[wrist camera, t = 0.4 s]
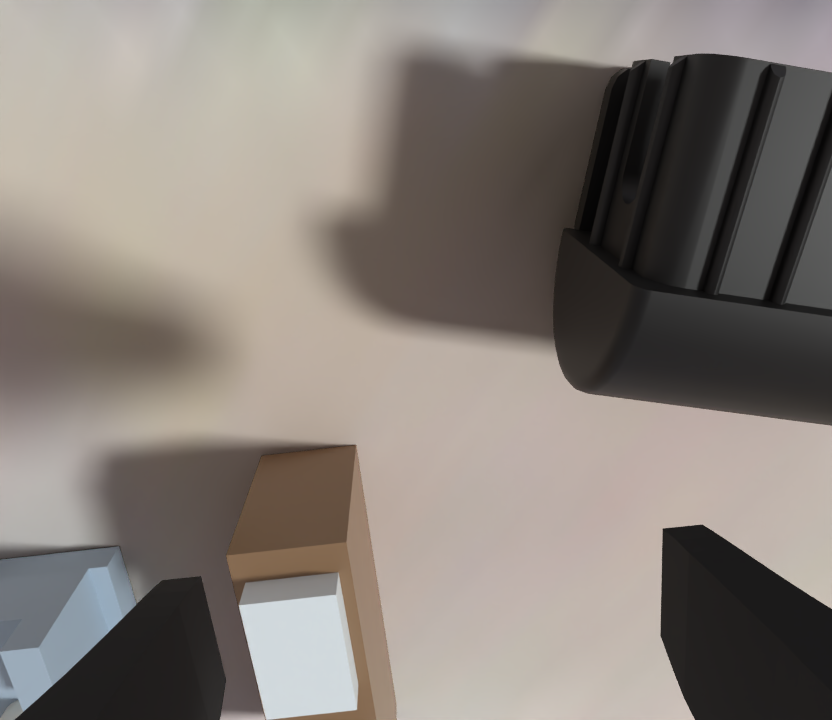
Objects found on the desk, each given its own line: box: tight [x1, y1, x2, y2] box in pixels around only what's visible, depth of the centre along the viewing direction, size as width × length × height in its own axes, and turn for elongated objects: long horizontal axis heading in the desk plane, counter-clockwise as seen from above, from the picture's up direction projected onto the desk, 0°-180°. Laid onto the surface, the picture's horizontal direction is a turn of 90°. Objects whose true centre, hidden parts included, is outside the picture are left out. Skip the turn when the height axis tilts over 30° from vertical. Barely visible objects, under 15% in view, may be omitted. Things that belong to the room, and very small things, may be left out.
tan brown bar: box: [226, 445, 396, 720], centre depth 20 cm, size 10×3×6 cm, turn 6°
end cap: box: [553, 54, 832, 425], centre depth 16 cm, size 10×7×7 cm
